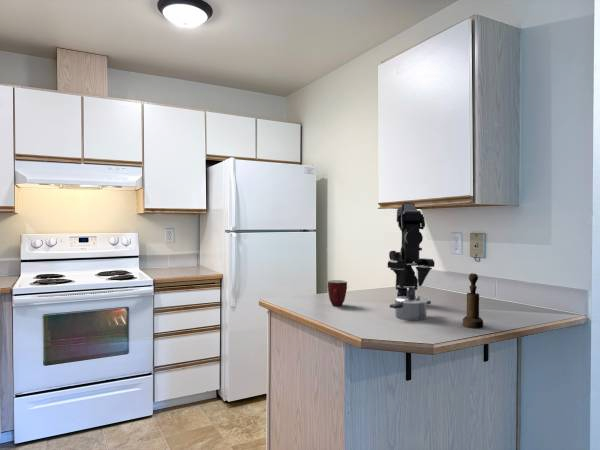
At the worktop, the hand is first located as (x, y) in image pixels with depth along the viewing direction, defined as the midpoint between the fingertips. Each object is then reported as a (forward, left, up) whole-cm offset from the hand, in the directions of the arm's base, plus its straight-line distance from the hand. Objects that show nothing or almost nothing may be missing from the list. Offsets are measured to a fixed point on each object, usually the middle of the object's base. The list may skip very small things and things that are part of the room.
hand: (411, 286), depth 159 cm
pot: (0, 0, -11) cm, 11 cm away
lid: (0, 0, -5) cm, 5 cm away
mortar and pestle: (-9, +20, -12) cm, 25 cm away
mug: (+12, -30, -12) cm, 34 cm away
